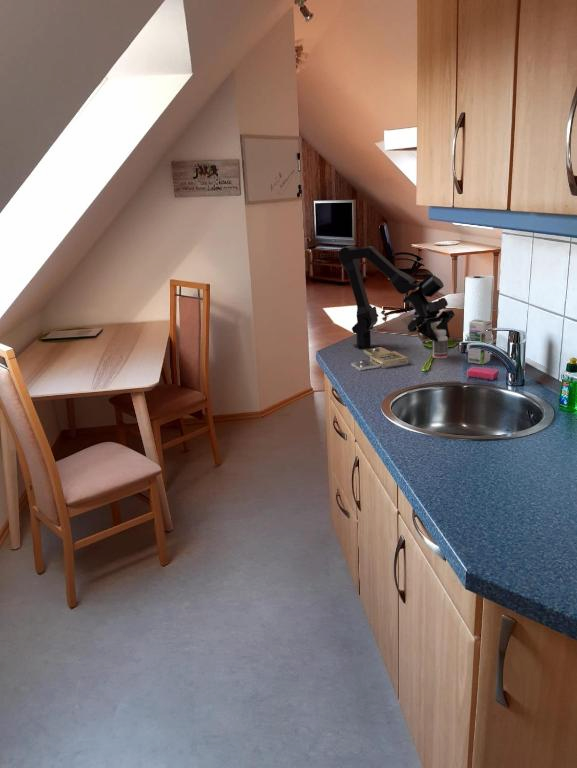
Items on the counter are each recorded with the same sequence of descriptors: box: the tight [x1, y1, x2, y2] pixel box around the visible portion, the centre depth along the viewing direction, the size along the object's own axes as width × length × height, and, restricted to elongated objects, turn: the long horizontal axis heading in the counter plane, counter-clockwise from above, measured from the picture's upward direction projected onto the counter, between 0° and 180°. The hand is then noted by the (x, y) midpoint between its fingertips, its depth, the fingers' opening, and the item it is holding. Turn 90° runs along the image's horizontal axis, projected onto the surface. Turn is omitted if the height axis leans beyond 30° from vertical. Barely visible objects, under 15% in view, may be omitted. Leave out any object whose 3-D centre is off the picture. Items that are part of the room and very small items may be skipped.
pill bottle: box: [431, 329, 449, 359], centre depth 218 cm, size 5×5×10 cm
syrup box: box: [467, 318, 493, 365], centre depth 209 cm, size 6×6×14 cm
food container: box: [417, 315, 436, 345], centre depth 241 cm, size 12×6×10 cm, turn 179°
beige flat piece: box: [350, 346, 409, 371], centre depth 219 cm, size 18×18×3 cm
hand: (443, 339), depth 216 cm, fingers closed on pill bottle, 5 cm apart
